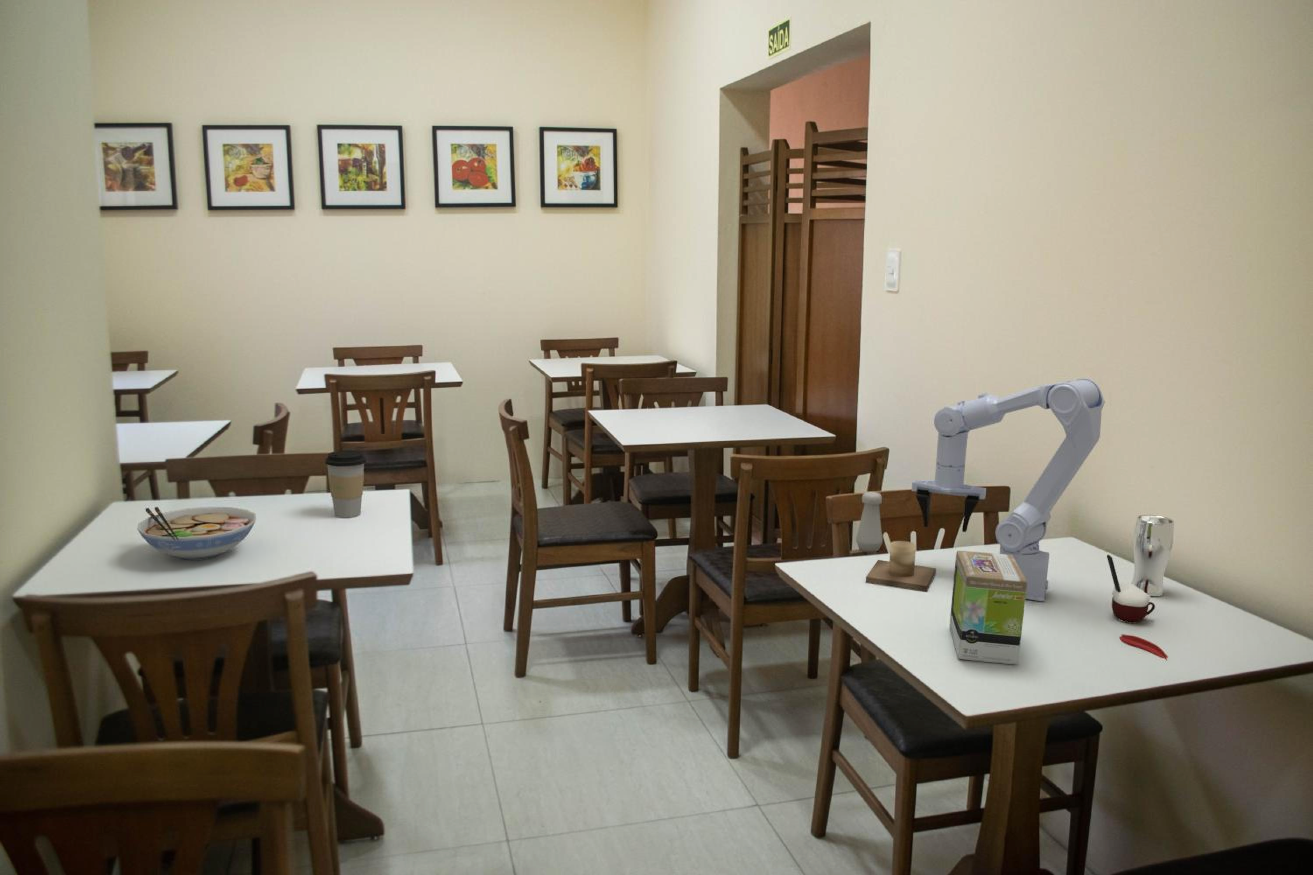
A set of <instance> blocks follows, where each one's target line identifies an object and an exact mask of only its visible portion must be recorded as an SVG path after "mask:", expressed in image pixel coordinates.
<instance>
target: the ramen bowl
mask: <svg viewBox="0 0 1313 875" xmlns="http://www.w3.org/2000/svg"><path fill="white" fill-rule="evenodd" d="M154 511H155V513H156V515H155V513H153V511H152V510H151V509H150V508H149V507H145V513H147V514H148V515H149V517H147V518H145V519H143V520H142V521H140V522H139V523H138V525H137V531H138V533H139V534H140V536H141V537H142V538H143V540H145V541H146V542H147V544H149V545H150V546H151V547H152V548H153V549H155V550H157V551H158V552H160V553H162V554H165V555H168V556H172V557H177V558H182V559H183V560H188V561H189V560H190V561H201V560H206V559H207V560H208V559H212V558H214V557H217V556H218V555H220V554H222V553H224V552H227V551H229V550H232V549H233V548H235V547H236V546H237V545H239V544H240V543H242V542H243V541H244V540H245V538H246V537H247V536H248V535H249V533H250V532H251V531H252V529H253V527H254V525H255V522H256V520H257V516H256V513H254V512H252V511H250V510H248V509H244V508H238V507H232V506H204V507H190V508H183V509H177V510H172V511H165V512H162V511H161V509H160V508H159V506H155V507H154Z"/></svg>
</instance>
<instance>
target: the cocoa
mask: <svg viewBox="0 0 1313 875" xmlns="http://www.w3.org/2000/svg"><path fill="white" fill-rule="evenodd" d="M1106 560H1107V562H1108V567H1109V569H1110V573H1111V577H1112V580H1113V584H1114V587H1113V590H1112V592H1111V594H1112V597H1111V609H1112V614H1113V615H1114V616H1115V617H1116V618H1117V619H1118V620H1119V619H1120V620H1119V621H1121V620H1122V622H1124V621H1125V622H1124V623H1129V622H1131V624H1135V623H1134V622H1137V623H1139V622H1141V621H1144V619H1145V618H1146V617H1147V616H1149V615H1150V614H1152V613H1153V612H1154V610H1155V608H1156V604H1155V603H1154V602H1152V601H1150V599H1151V597H1150V596H1149V595H1148V594H1146V593H1145V592H1144V591H1143V590H1141V589H1139V588H1138V587H1136V586H1135V585H1133V584H1131V583H1132V582H1119V579H1118V575H1117V570H1116V567H1115V564H1114V563H1115V562H1114V560H1113V557H1112V556H1111V555H1110V554H1107V555H1106ZM1149 606H1151V608H1150V609H1149Z"/></svg>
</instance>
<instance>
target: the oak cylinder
mask: <svg viewBox="0 0 1313 875" xmlns="http://www.w3.org/2000/svg"><path fill="white" fill-rule="evenodd" d="M916 551H917V544H915V543H913V542H911V541H907V540H906V541H905V540H894V541H891V542H890V548H889V560H888V561H889V573H890V574H892V575H894V576H899V577H910V576H913V575H914V566H915V564H916Z"/></svg>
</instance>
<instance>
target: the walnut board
mask: <svg viewBox="0 0 1313 875" xmlns="http://www.w3.org/2000/svg"><path fill="white" fill-rule="evenodd" d="M889 561H890V560H882V559H877V561H876V562H875V564H874V565H873V566H872V568H871V569H870V571H869V572H868V574H866V577H865V583H866V584H874V585H881V586H885V587H887V586H888V587H894V588H900V589H906V590H913V591H920V592H925V593H926V592H927V591H928V589H929V588H930V585H932V584H931V583H932V581H933V580H934V578H935V576H936V573H937V568H936V567H930V566H923V565H917V564H916V565H915V566H914V575H913V576H910V577H899V576H894V575H892V574H890V573H889Z"/></svg>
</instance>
